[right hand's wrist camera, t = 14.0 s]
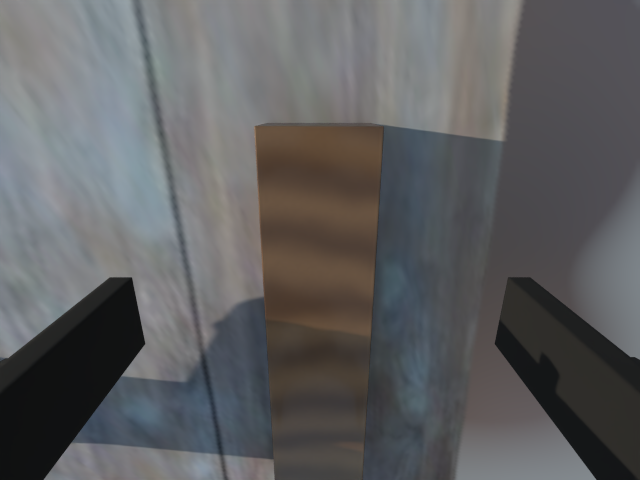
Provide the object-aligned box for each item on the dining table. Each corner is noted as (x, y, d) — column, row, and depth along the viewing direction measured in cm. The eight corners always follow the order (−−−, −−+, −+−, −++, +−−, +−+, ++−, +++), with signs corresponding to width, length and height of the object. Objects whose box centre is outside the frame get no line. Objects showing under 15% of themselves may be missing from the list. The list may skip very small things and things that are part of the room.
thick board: (266, 123, 33) (253, 125, 27) (371, 123, 33) (384, 126, 27) (284, 508, 51) (279, 564, 45) (352, 508, 51) (357, 564, 45)
